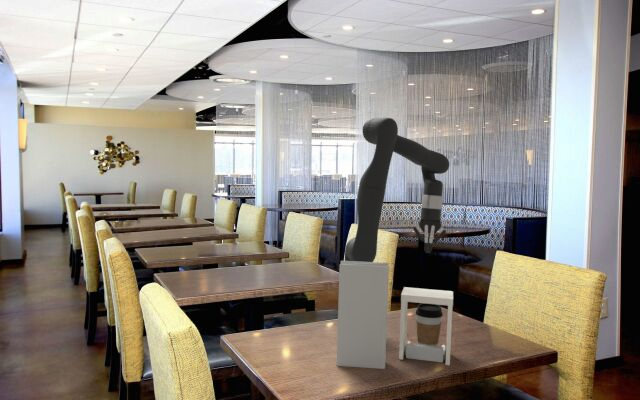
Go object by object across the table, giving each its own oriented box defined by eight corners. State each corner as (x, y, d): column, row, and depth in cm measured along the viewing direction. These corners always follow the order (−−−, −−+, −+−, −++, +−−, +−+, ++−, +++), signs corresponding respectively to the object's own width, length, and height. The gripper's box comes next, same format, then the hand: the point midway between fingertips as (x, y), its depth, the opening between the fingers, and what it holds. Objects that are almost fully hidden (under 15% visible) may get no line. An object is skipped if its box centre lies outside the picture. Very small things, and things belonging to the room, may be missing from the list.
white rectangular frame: (398, 359, 156) (401, 294, 155) (402, 344, 169) (404, 285, 167) (450, 365, 153) (453, 299, 151) (450, 350, 165) (452, 289, 164)
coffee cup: (442, 349, 165) (444, 304, 164) (439, 359, 157) (441, 311, 156) (415, 346, 168) (417, 301, 167) (412, 355, 160) (414, 307, 159)
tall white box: (384, 361, 154) (388, 262, 152) (385, 368, 149) (389, 266, 146) (337, 358, 155) (340, 260, 153) (336, 365, 150) (339, 264, 148)
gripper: (413, 206, 193) (409, 251, 193) (449, 209, 190) (445, 255, 190) (414, 206, 201) (410, 250, 201) (449, 208, 197) (445, 253, 197)
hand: (427, 252), depth 195 cm, fingers closed
